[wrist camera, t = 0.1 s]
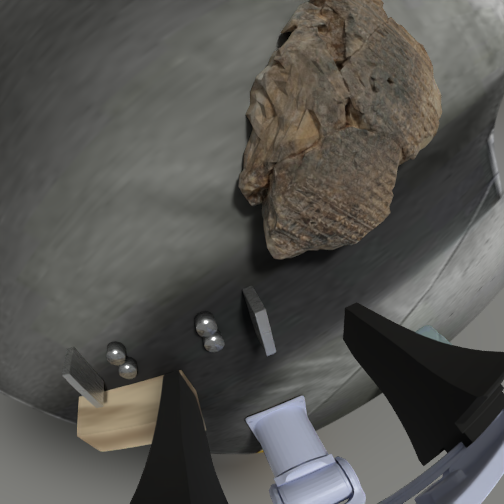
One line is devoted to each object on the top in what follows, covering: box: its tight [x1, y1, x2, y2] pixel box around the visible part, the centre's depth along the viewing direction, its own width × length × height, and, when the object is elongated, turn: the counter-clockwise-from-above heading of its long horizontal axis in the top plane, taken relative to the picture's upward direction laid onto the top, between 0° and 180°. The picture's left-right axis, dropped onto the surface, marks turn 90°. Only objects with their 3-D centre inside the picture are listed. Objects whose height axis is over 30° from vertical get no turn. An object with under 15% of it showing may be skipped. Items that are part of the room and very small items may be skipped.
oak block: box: [77, 370, 206, 452], centre depth 22 cm, size 4×12×5 cm, turn 103°
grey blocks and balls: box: [62, 286, 276, 408], centre depth 20 cm, size 5×17×3 cm, turn 102°
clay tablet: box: [239, 0, 442, 259], centre depth 16 cm, size 14×5×20 cm
